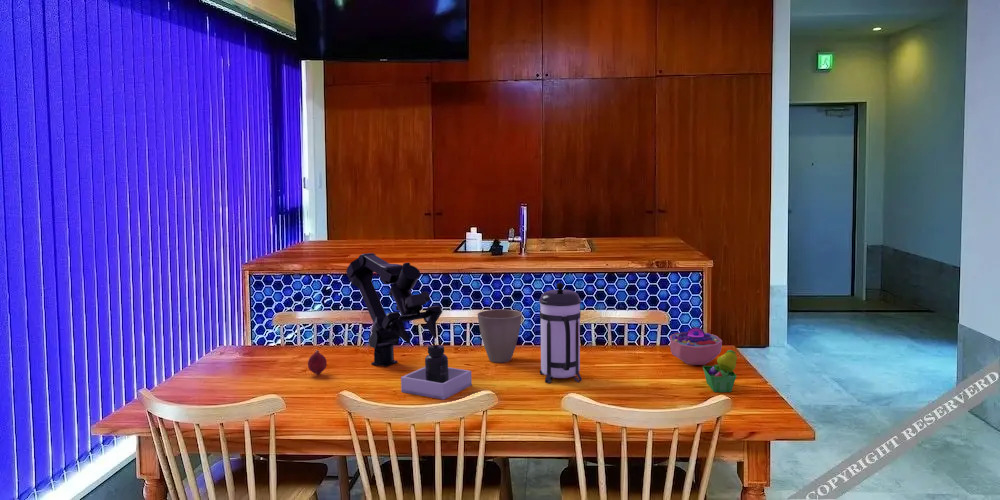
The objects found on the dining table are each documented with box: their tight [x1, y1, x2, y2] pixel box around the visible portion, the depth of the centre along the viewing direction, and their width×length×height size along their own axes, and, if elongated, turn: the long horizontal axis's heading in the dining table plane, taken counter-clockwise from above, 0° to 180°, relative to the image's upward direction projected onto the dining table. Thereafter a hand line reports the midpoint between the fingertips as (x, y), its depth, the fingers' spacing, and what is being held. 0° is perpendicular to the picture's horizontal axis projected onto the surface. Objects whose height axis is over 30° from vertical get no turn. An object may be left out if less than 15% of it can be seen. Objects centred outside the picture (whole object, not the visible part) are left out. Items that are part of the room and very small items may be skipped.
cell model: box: [669, 326, 723, 366], centre depth 251 cm, size 17×20×11 cm
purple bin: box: [400, 366, 472, 400], centre depth 228 cm, size 15×15×4 cm
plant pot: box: [477, 309, 523, 363], centre depth 258 cm, size 15×15×16 cm
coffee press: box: [538, 282, 583, 384], centre depth 234 cm, size 17×16×30 cm
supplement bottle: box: [424, 344, 449, 383], centre depth 228 cm, size 7×7×12 cm
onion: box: [307, 349, 328, 376], centre depth 244 cm, size 6×6×8 cm
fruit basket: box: [702, 349, 738, 393], centre depth 225 cm, size 11×9×11 cm
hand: (422, 340), depth 233 cm, fingers open, 9 cm apart
